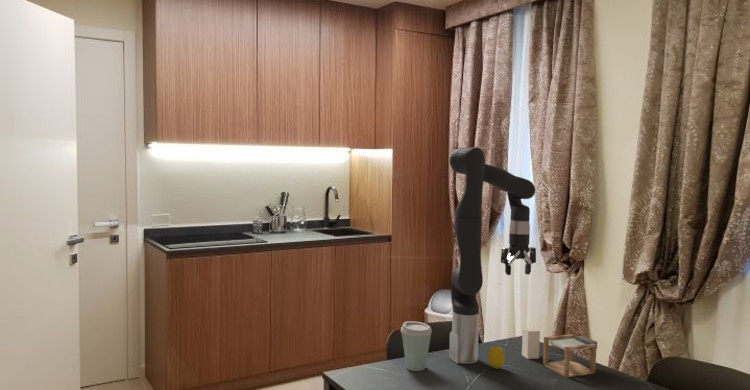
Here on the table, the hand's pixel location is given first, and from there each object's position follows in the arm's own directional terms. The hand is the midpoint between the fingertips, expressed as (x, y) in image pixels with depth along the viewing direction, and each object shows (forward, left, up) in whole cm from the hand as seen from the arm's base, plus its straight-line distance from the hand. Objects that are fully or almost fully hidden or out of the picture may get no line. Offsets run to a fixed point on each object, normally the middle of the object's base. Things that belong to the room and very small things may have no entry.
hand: (518, 274), depth 206 cm
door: (+5, -26, -21) cm, 34 cm away
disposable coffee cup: (-47, -10, -28) cm, 56 cm away
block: (-2, -12, -28) cm, 30 cm away
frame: (+3, -26, -28) cm, 38 cm away
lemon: (-21, -19, -28) cm, 40 cm away
